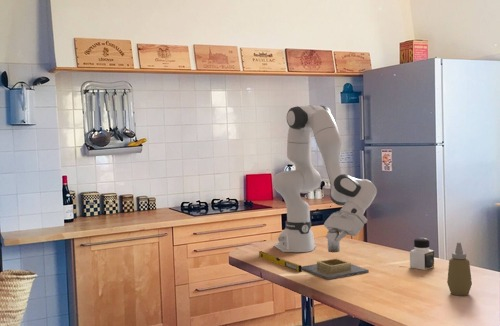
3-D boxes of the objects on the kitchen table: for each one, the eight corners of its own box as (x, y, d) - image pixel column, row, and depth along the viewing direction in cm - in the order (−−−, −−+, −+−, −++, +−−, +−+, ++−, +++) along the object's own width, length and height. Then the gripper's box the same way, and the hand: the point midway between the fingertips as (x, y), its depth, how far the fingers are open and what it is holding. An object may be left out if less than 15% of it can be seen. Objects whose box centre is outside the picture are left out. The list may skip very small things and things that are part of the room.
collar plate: (300, 268, 237) (300, 260, 237) (339, 262, 246) (339, 254, 246) (327, 279, 219) (327, 270, 219) (368, 272, 228) (368, 263, 228)
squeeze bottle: (459, 298, 191) (458, 246, 190) (442, 292, 198) (441, 242, 197) (477, 294, 194) (476, 243, 193) (459, 289, 201) (459, 239, 200)
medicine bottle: (425, 270, 228) (424, 241, 227) (409, 267, 234) (409, 239, 233) (434, 267, 233) (434, 238, 232) (419, 264, 238) (418, 236, 237)
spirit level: (259, 257, 262) (259, 251, 262) (261, 257, 262) (261, 251, 262) (298, 272, 232) (298, 265, 232) (301, 272, 233) (301, 265, 233)
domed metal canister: (325, 250, 233) (325, 229, 233) (335, 249, 235) (334, 228, 235) (332, 252, 229) (331, 231, 228) (342, 251, 231) (341, 229, 231)
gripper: (331, 206, 244) (313, 231, 240) (361, 211, 225) (341, 238, 222) (340, 215, 246) (322, 240, 242) (370, 221, 227) (351, 248, 224)
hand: (332, 239), depth 232 cm, fingers closed on domed metal canister, 5 cm apart
